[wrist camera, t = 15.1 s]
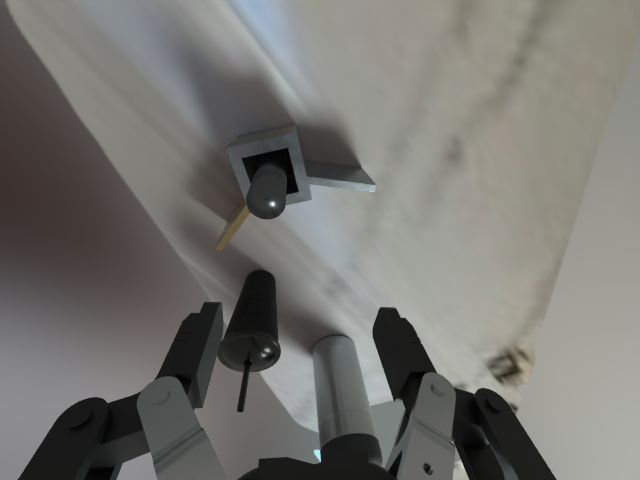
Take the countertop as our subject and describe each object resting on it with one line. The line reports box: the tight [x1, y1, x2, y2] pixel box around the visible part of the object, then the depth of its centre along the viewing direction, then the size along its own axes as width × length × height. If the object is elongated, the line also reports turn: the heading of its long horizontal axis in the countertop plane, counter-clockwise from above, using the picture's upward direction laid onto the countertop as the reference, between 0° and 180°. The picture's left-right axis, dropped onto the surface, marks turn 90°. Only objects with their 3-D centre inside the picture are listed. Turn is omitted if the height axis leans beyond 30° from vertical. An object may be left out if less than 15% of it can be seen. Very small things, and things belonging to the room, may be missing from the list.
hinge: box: [215, 123, 377, 252], centre depth 31 cm, size 11×20×7 cm, turn 101°
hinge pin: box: [246, 149, 288, 219], centre depth 27 cm, size 3×3×14 cm
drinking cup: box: [217, 270, 281, 412], centre depth 34 cm, size 8×8×20 cm
